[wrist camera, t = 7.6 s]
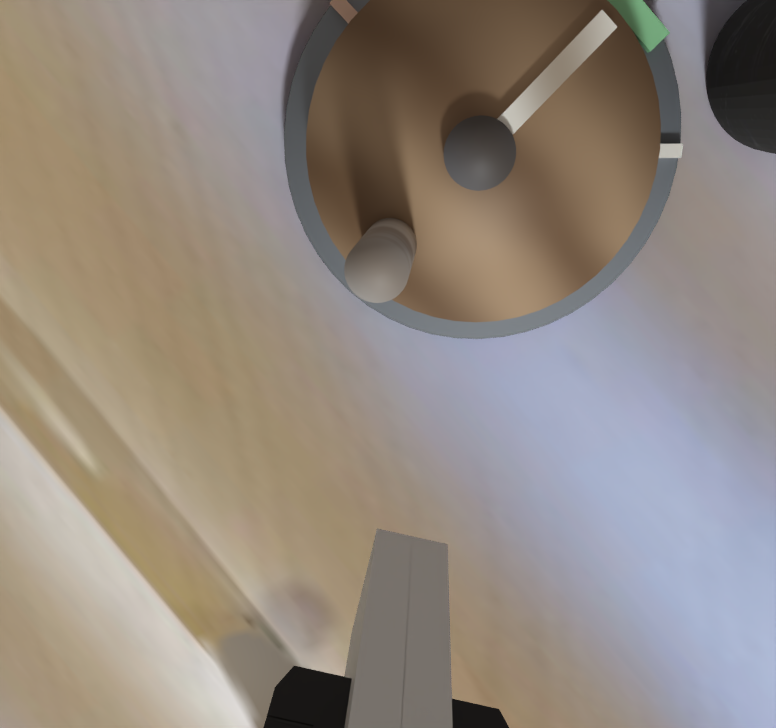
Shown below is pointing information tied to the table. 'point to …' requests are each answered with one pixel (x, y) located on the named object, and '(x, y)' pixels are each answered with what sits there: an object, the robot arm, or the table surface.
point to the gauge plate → (651, 40)
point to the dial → (481, 151)
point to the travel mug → (746, 75)
